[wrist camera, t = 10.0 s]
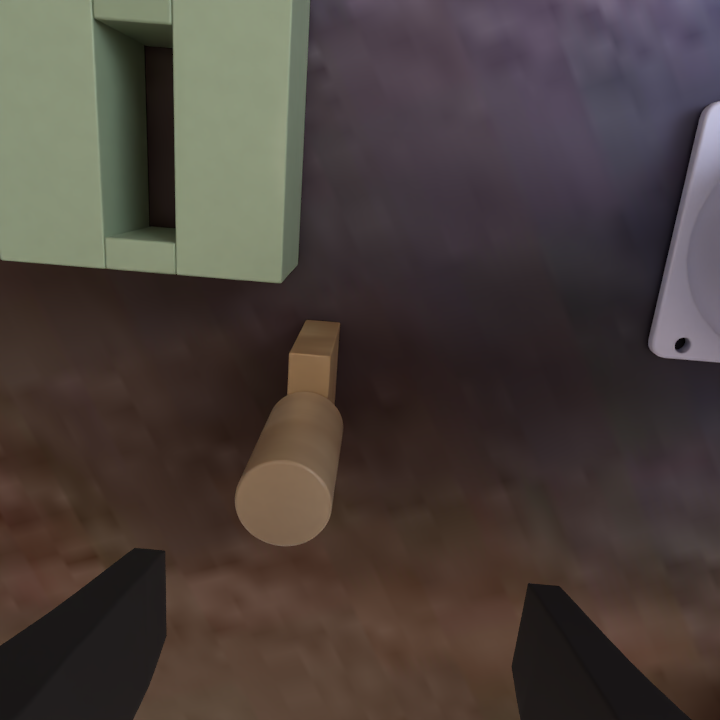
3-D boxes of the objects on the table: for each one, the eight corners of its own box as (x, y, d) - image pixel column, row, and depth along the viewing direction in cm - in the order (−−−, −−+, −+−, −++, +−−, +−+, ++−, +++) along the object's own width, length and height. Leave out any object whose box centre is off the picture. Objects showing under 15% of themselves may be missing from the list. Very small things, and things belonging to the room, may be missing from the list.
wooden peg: (354, 323, 21) (337, 419, 13) (345, 439, 22) (325, 592, 14) (291, 318, 21) (235, 410, 13) (286, 434, 22) (232, 583, 14)
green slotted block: (322, -259, 16) (306, -372, 13) (298, 265, 20) (281, 283, 17) (24, -281, 16) (-69, -399, 13) (62, 245, 20) (-1, 260, 17)
